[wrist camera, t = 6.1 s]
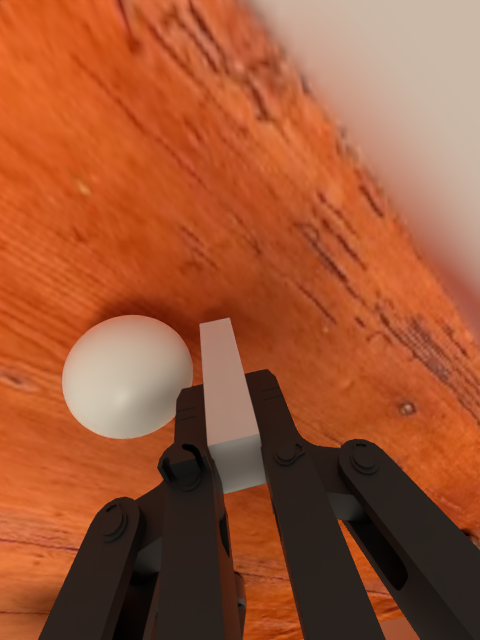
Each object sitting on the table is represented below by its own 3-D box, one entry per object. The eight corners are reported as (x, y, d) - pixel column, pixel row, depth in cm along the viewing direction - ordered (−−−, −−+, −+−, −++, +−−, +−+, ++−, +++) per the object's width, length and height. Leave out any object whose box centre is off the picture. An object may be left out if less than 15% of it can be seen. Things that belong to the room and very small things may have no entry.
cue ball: (206, 313, 15) (215, 387, 10) (174, 385, 17) (169, 472, 12) (97, 279, 13) (46, 350, 8) (77, 365, 15) (28, 459, 10)
